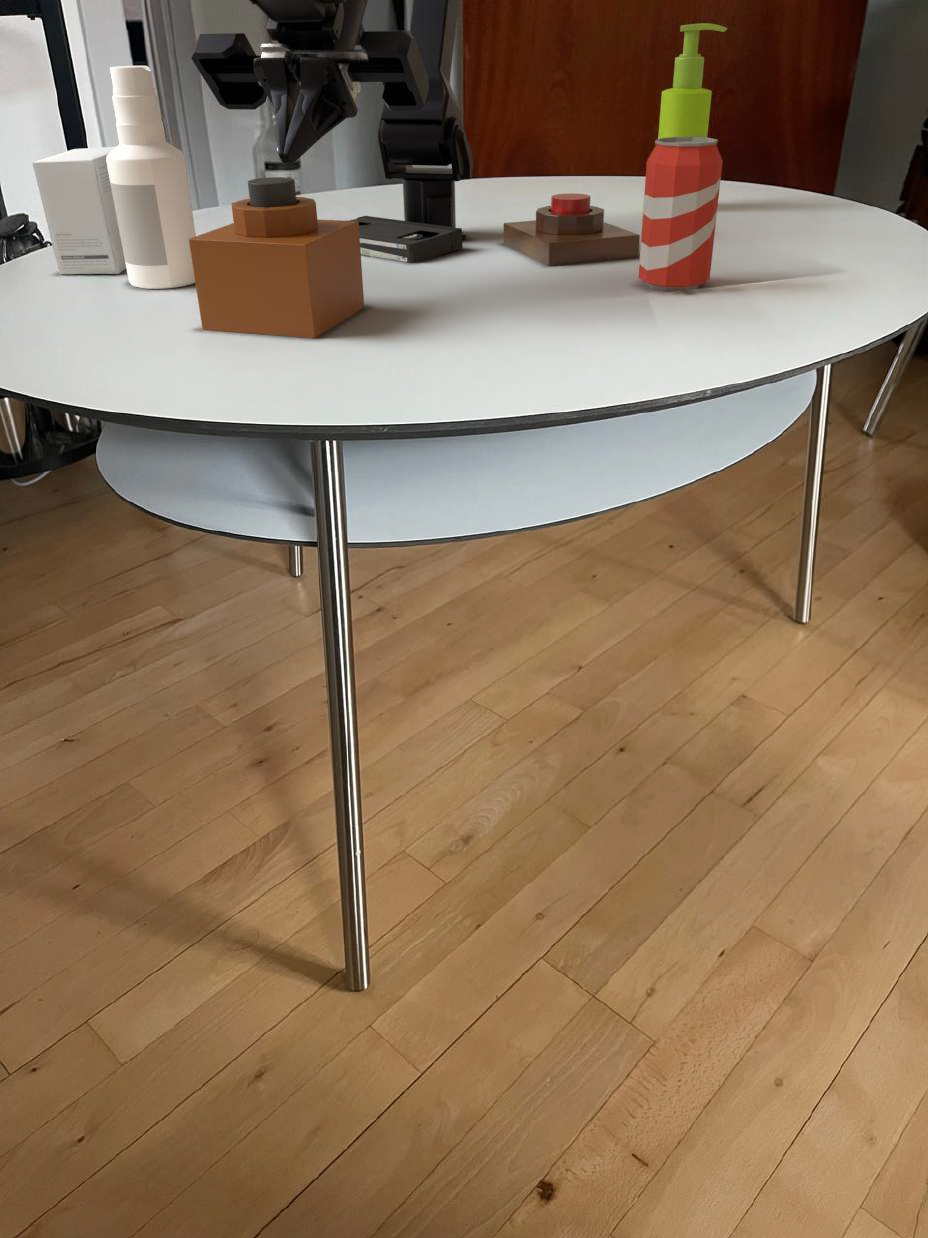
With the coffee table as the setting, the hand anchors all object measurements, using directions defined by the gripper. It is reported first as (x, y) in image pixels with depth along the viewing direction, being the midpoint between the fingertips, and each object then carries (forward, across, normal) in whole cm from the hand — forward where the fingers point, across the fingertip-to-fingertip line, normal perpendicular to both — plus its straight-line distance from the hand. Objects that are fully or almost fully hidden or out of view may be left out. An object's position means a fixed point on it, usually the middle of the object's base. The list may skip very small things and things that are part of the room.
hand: (285, 160), depth 78 cm
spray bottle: (+4, -18, +13) cm, 22 cm away
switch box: (-13, +17, +29) cm, 36 cm away
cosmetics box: (0, -28, +17) cm, 33 cm away
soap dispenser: (-33, +24, +50) cm, 65 cm away
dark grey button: (+4, 0, 0) cm, 4 cm away
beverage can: (-3, +29, +20) cm, 36 cm away
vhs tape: (-10, -2, +27) cm, 29 cm away
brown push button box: (+10, 0, +6) cm, 12 cm away
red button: (-15, +17, +27) cm, 35 cm away
